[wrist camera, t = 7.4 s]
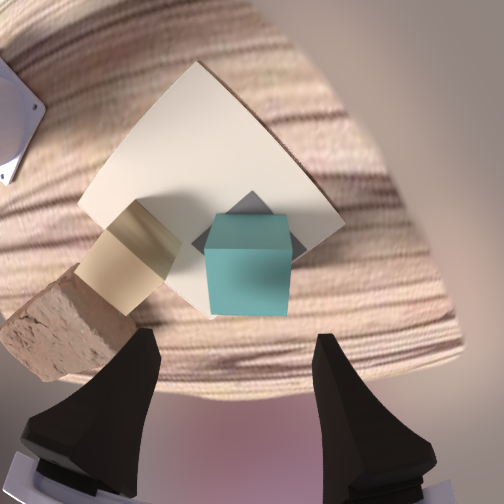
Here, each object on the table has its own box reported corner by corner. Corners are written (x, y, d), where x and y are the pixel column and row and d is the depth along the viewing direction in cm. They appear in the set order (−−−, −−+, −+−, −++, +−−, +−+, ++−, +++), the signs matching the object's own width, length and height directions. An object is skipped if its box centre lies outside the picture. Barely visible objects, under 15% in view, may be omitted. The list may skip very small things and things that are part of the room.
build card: (78, 202, 19) (76, 204, 19) (196, 61, 15) (195, 60, 14) (211, 318, 24) (210, 321, 24) (345, 222, 20) (346, 224, 19)
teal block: (219, 272, 22) (210, 314, 18) (215, 214, 19) (204, 248, 15) (283, 273, 21) (286, 316, 18) (286, 214, 19) (292, 249, 15)
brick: (83, 254, 22) (54, 288, 18) (143, 325, 26) (127, 364, 21) (13, 310, 27) (-7, 336, 22) (58, 358, 30) (43, 385, 26)
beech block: (102, 238, 21) (74, 272, 17) (135, 199, 19) (105, 228, 15) (146, 277, 22) (125, 316, 18) (182, 243, 21) (165, 281, 17)
